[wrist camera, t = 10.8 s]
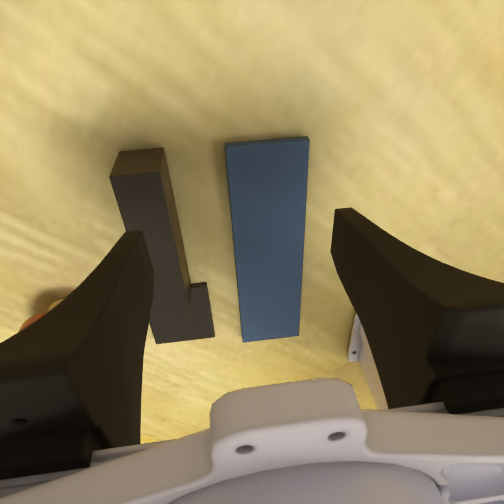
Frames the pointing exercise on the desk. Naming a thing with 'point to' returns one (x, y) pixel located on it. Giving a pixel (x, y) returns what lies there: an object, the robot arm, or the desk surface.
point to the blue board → (268, 232)
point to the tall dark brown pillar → (161, 245)
